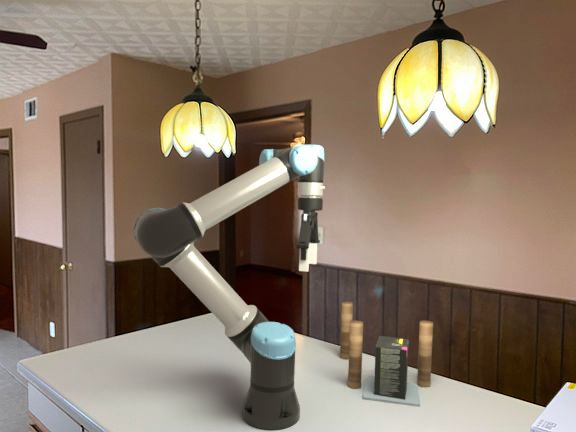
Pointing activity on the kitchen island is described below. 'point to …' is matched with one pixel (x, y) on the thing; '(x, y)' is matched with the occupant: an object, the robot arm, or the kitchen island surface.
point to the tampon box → (391, 367)
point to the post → (425, 353)
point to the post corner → (355, 354)
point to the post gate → (345, 329)
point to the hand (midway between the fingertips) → (308, 267)
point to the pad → (410, 399)
